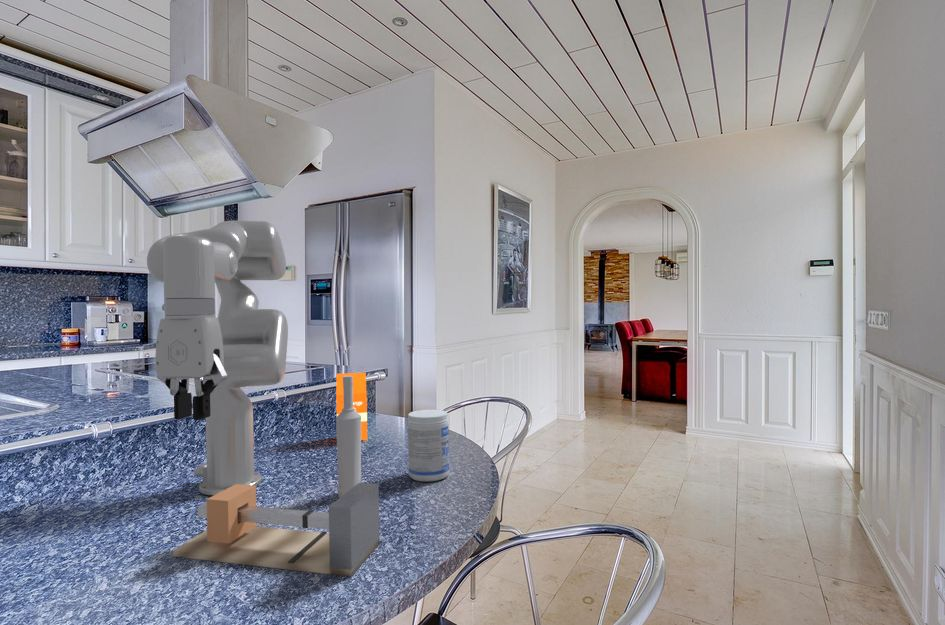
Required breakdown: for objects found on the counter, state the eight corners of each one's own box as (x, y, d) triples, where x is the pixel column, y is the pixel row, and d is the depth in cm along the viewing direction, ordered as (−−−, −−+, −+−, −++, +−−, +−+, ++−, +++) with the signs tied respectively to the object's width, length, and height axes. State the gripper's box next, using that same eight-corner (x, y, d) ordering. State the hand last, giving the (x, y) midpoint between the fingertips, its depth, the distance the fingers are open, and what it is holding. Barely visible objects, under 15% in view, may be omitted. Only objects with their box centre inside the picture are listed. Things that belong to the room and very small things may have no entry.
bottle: (356, 500, 99) (353, 378, 99) (332, 498, 100) (330, 378, 100) (366, 490, 104) (364, 374, 104) (344, 489, 105) (342, 374, 105)
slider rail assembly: (178, 556, 77) (177, 494, 77) (223, 528, 87) (222, 473, 87) (351, 576, 70) (350, 508, 70) (379, 544, 80) (378, 483, 80)
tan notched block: (207, 541, 78) (206, 499, 78) (236, 522, 84) (236, 484, 84) (228, 543, 77) (228, 500, 77) (256, 524, 83) (256, 485, 83)
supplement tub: (452, 481, 109) (451, 416, 109) (410, 485, 107) (409, 418, 107) (445, 467, 119) (444, 407, 118) (406, 471, 116) (405, 410, 116)
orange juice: (337, 436, 149) (336, 372, 149) (367, 434, 151) (365, 371, 151) (336, 443, 142) (335, 375, 141) (367, 441, 144) (366, 374, 143)
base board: (173, 556, 77) (173, 548, 77) (219, 528, 87) (218, 521, 87) (351, 576, 70) (351, 568, 70) (379, 544, 80) (379, 536, 80)
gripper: (130, 310, 80) (133, 421, 80) (215, 309, 76) (217, 425, 77) (168, 310, 87) (170, 411, 87) (247, 309, 84) (249, 414, 84)
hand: (192, 417), depth 82 cm, fingers open, 3 cm apart
